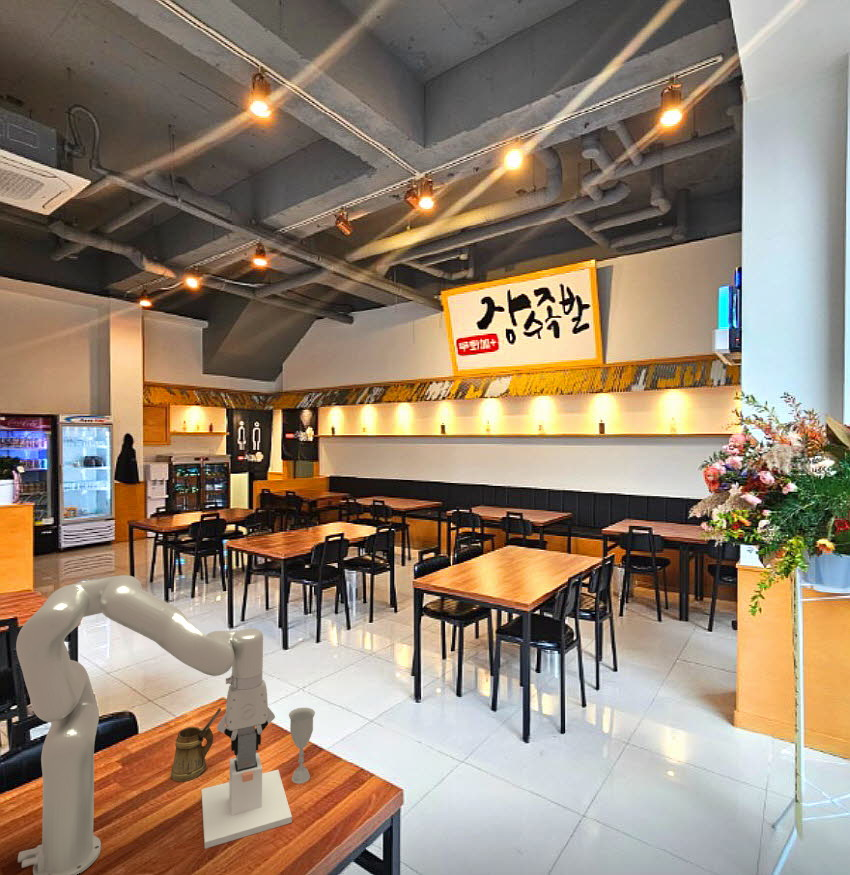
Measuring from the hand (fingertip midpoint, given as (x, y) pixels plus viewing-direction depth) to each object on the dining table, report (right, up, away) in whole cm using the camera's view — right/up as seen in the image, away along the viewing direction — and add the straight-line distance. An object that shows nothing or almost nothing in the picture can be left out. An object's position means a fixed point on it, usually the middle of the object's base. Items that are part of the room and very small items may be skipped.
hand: (245, 749), depth 133 cm
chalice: (+11, -16, +12) cm, 23 cm away
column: (0, -11, 0) cm, 11 cm away
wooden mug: (-19, -15, +14) cm, 28 cm away
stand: (0, -15, 0) cm, 15 cm away
